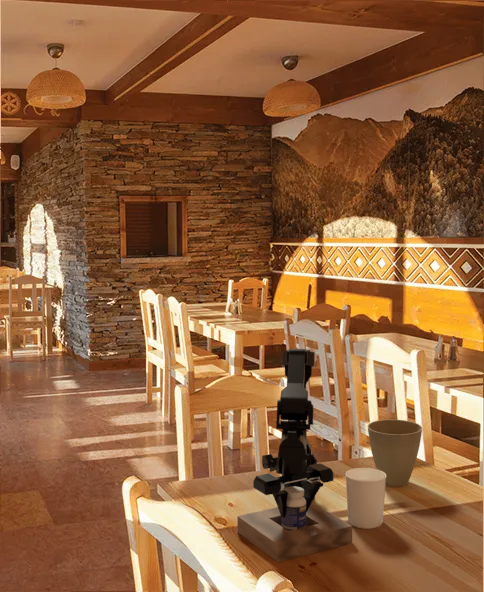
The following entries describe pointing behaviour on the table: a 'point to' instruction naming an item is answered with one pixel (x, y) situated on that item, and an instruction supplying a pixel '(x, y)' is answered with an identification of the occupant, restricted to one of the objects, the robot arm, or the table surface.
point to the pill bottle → (295, 509)
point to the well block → (294, 533)
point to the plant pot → (395, 448)
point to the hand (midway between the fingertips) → (293, 514)
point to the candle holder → (365, 497)
